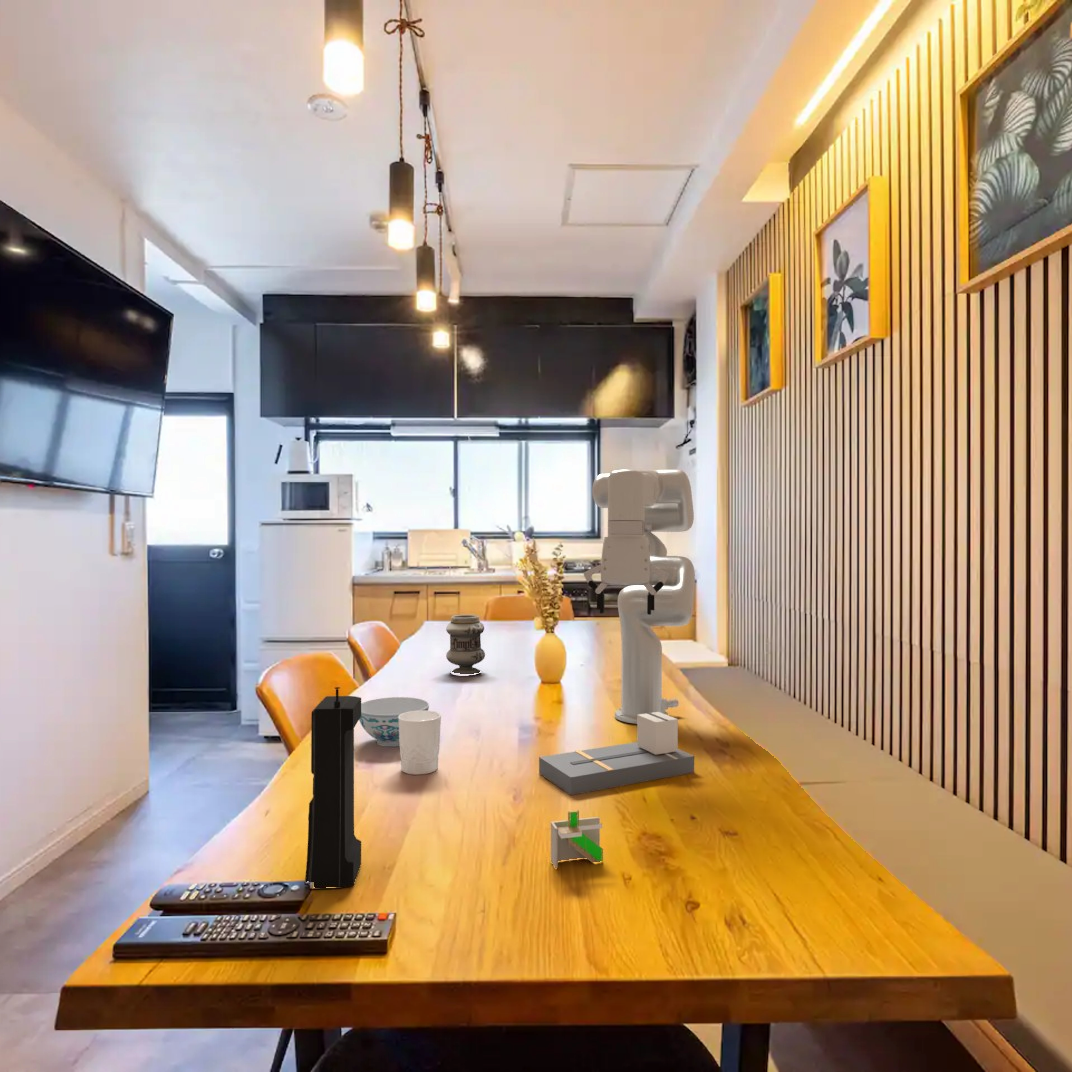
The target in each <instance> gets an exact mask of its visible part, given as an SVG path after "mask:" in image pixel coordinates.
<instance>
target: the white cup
mask: <svg viewBox="0 0 1072 1072" xmlns="http://www.w3.org/2000/svg"><path fill="white" fill-rule="evenodd" d="M441 721H442V715H441V713H439V712H437V711H434V710H428V711H410V712H406V713H402V714H400V715H399V716H398V723H399V745H400V746H399V755H400V770H401V771H402V773H404V774H409V775H419V776H421V775H427V774H430V773H433V772H436V771H437V769H438V768H439V754H440V743H441V725H442V723H441Z"/></svg>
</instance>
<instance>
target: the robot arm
mask: <svg viewBox="0 0 1072 1072" xmlns="http://www.w3.org/2000/svg"><path fill="white" fill-rule="evenodd" d="M691 486H692V485H691V483H690V479H689V477H688V475H687V473H686V472H685V471H683V470H681V469H640V470H636V469H618V470H612V471H611V472H610V473H600V474H598V475H597V476H596V477H595V478H594V480H593V483H592V487H591V489H592V490H591V492H592V499H593V501H594V503H595V505H596V506H597V507H598V508H601V509H607V536H604V537H603V543H602V548H601V549H602V551H601V559H600V561H601V563H600V564H598V565H596V566H594V567H592V568H590V569H588V570H586V571H584V572H583V576H584V579H585V581H586V582H587V584H588V586H589V587H590V588H591V590H592V591H594V592H595V593H596V610H599V614H604V613H605V597H606V596H605V593H604V590H605V588H607V587H608V586H625V587H624V588H622V589H621V590H620V591H619V594H618V597H617V609H618V616H619V622H620V623H619V624H620V635H621V636H620V637H621V640H620V641H621V645H620V647H621V670H620V671H621V678H620V679H621V688H620V689H621V692H620V693H621V694H620V695H621V698H620V699H621V700H620V701H621V704H620V705H621V707H620V708H618V709H617V710H615V711H614V718H615V719H616V720H618V721H621V722H623V723H627V724H628V723H629V724H634V725H637V715H639V714H646V713H654V712H661V713H663V714H666V715H668V716H669V713H668V712H667V710H668V709H669V708H671V709H672V708H677V707H679V700H678V699H677V698H673V699H672V698H671V699H667V698H664V697H663V694H662V693H663V685H662V684H663V676H662V675H663V672H662V671H663V665H662V664H663V663H662V662H663V646H662V642H661V640H660V638H659V636H658V635H657V634H656V632H655V631H654V630H653V629H652V627H683V626H686V625H688V624H690V621H691V619H692V617H693V610H694V598H695V597H694V596H695V586H696V585H695V583H696V581H695V580H696V573H695V572H696V571H695V567H694V565H693V562H692V560H691V559H689V558H688V557H685V556H680V555H679V556H678V555H667V554H668V551H667V550H668V549H667V547H666V546H665V544H664V543H663V542H662V540H661V539H660V538H659V537H658V536H657V535H656V534H655V533H657V532H658V533H661V532H662V533H663V532H664V533H665V532H666V533H669V532H670V533H679V532H682V533H683V532H688V531H689V530H690V529H691V528H692V526H693V524H694V515H695V512H694V505H693V504H694V503H693V495H692V487H691ZM653 532H654V533H653ZM599 572H600V581H601V583H600V584H599V585H598V584H597V583H596V582H595V581H594V579H593V575H595V574H597V573H599Z"/></svg>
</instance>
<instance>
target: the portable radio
mask: <svg viewBox="0 0 1072 1072" xmlns="http://www.w3.org/2000/svg"><path fill="white" fill-rule="evenodd" d="M334 689H335V695H334V696H332V695H331V696H329V695H327V696H324V698H323V699H322V700H321V701H319V703H318V704H317V705H316V706H315V707H314V708H313V709H312V711H311V713H310V714H311V719H310V720H311V721H310V722H311V725H310V726H311V728H310V729H311V732H310V735H311V738H310V741H311V742H310V743H311V744H310V749H311V752H310V754H311V755H310V756H311V757H310V758H311V759H310V762H311V763H310V768H311V769H310V772H311V774H312V775H313V777H312V795H313V796H312V798H311V800H310V802H309V803H308V815H307V816H308V823H307V824H308V826H307V827H308V829H307V830H308V831H307V848H306V849H307V850H306V851H307V853H306V868H305V878H304V882H305V881H306V882H307V881H309V882H314V887H315V888H326V887H343V888H346V887H345V886H348V887H350V886H349V885H352V886H355V884H354V882H355V883H356V881H355V879H356V880H357V878H356V877H358V875H359V872H360V869H361V866H362V840H360V839H358V838H357V837H356V835H355V727H356V725H357V723H358V722H360V721H359V719H360V717H361V703H362V697H359V696H354V695H339V689H341V686H340V687H338V686H335V687H334ZM360 865H361V866H360ZM359 868H360V869H359ZM358 871H359V872H358ZM357 874H358V875H357Z"/></svg>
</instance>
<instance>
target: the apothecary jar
mask: <svg viewBox="0 0 1072 1072" xmlns="http://www.w3.org/2000/svg"><path fill="white" fill-rule="evenodd" d="M445 631H446V633H447V634H448V635H449V643H450V644H449V645H450V646H449V650H448V651H447V652H446V653H445V654H446V655H445V657H446V660H447V661H448V662H449V663H451V664H452V665H456V666H459V667H456V668H454V669H453V671H452V670H451V671H452V672H454V673H460V674H474V673H479V672H480V671H481V670H480V669H478V668H476V667H473V666H474V665H476V664H479V663H481V662H482V661H483V660H484V659H485V656H486V653H485V650H484V649H483V648H482V644H481V642H482V641H481V634H483V632H484V631H485V626H484V624H483V623H482V622H480V616H479V615H478V614H457V615H456V614H455V615H452V616H451V618H450V622H449V623H448V624H447V625H446V627H445Z"/></svg>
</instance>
